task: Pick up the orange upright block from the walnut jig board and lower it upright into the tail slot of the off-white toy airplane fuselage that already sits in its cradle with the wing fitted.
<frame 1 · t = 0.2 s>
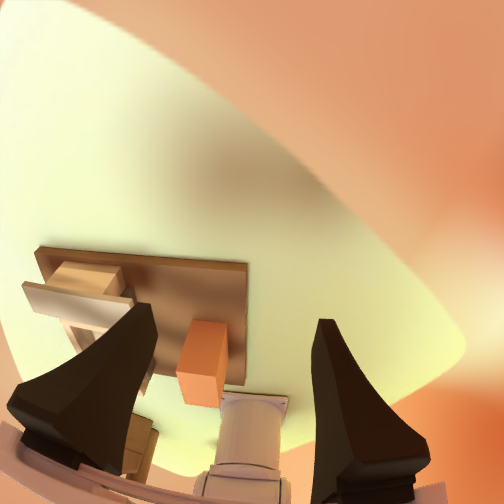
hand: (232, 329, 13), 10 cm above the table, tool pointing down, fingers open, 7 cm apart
wooden toy: (117, 412, 42), on the table
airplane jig: (141, 320, 28), on the table
orange upright block: (211, 340, 27), point 1 cm above the table, touching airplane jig
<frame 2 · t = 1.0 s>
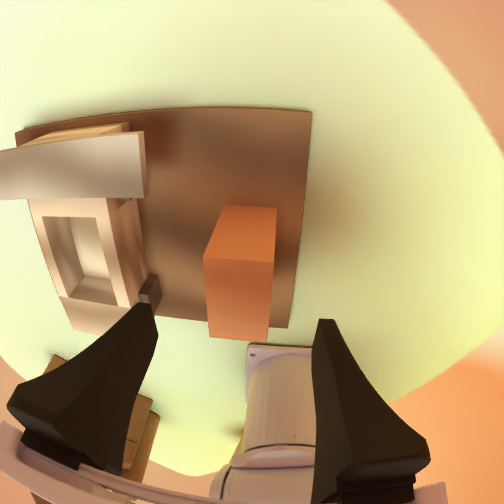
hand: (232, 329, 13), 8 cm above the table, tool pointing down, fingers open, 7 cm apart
wooden toy: (107, 390, 34), on the table
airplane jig: (147, 223, 20), on the table
orange upright block: (249, 244, 19), point 1 cm above the table, touching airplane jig
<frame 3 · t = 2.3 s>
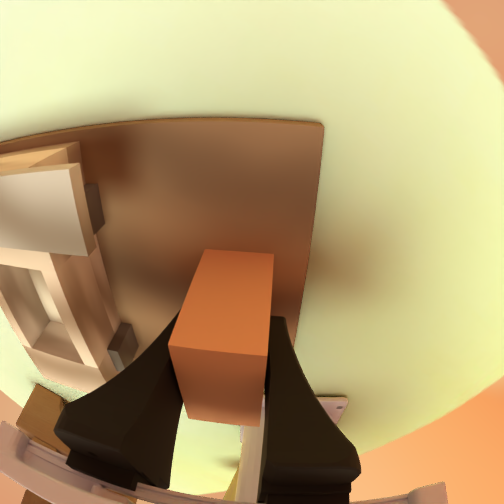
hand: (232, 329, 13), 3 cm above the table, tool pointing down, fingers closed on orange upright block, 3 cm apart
wooden toy: (94, 420, 30), on the table
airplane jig: (114, 263, 16), on the table
ice cream cone: (241, 464, 31), on the table
orange upright block: (238, 295, 15), point 1 cm above the table, touching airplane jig, gripper
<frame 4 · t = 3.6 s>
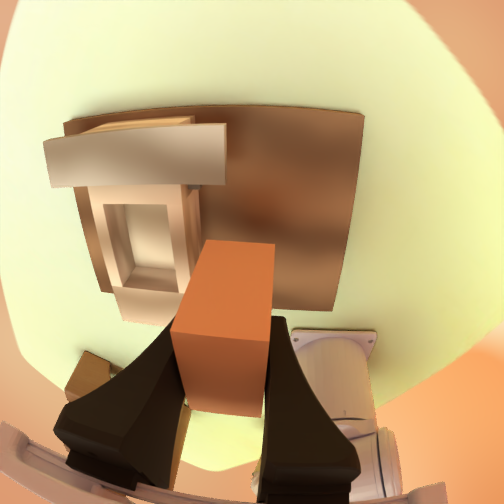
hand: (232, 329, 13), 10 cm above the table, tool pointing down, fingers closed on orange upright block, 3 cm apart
wooden toy: (139, 385, 36), on the table
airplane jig: (203, 213, 22), on the table
ice cream cone: (276, 421, 37), on the table
orange upright block: (240, 286, 15), point 8 cm above the table, touching gripper
when the fingers open (6 cm above the table, at t = 5.3 s): orange upright block stays where it is, resting on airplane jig.
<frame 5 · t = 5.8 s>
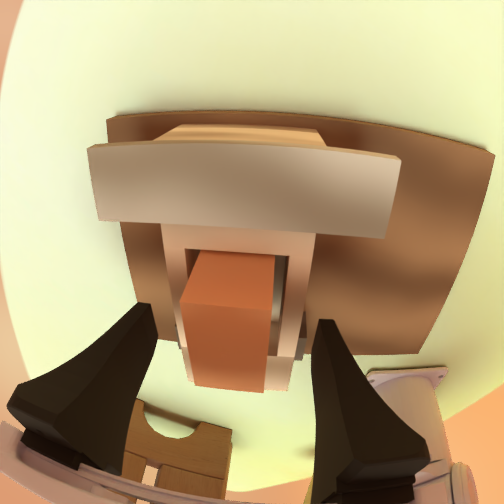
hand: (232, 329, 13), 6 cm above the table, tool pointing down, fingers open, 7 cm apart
wooden toy: (175, 422, 31), on the table
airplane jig: (300, 252, 17), on the table
ice cream cone: (321, 450, 33), on the table
orange upright block: (243, 269, 16), point 2 cm above the table, touching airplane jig
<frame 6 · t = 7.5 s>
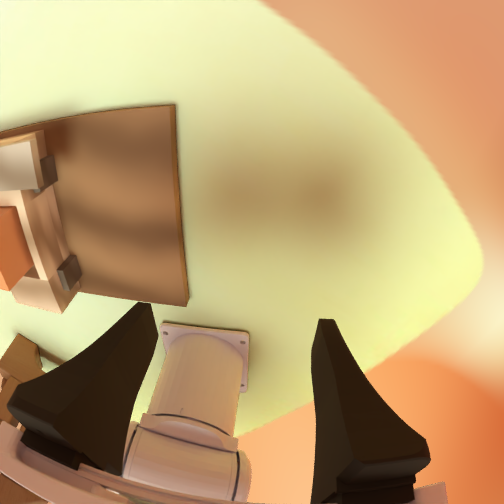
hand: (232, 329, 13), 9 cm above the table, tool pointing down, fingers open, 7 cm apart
wooden toy: (63, 368, 35), on the table
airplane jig: (66, 211, 21), on the table
orange upright block: (28, 222, 20), point 2 cm above the table, touching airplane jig
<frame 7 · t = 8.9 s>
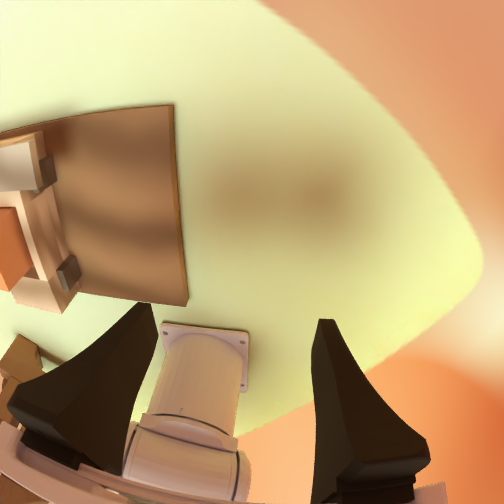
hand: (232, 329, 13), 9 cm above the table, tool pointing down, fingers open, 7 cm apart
wooden toy: (64, 369, 35), on the table
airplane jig: (65, 211, 21), on the table
orange upright block: (27, 222, 20), point 2 cm above the table, touching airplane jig
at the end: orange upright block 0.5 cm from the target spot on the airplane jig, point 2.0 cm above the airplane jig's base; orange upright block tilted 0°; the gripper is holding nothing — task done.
